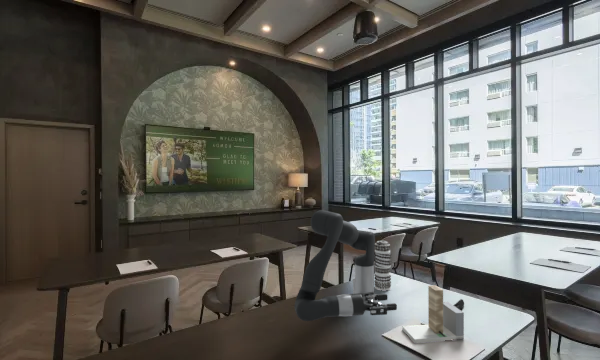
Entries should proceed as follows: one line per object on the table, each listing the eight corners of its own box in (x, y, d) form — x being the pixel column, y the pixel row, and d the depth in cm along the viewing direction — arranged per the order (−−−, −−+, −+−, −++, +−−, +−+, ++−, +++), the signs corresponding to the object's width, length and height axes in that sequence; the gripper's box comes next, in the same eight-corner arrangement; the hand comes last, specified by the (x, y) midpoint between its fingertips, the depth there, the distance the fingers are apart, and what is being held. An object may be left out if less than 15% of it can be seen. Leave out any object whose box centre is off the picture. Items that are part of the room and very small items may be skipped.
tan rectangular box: (440, 338, 115) (440, 293, 114) (428, 326, 123) (428, 285, 123) (448, 337, 115) (448, 293, 115) (435, 326, 124) (435, 285, 123)
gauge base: (414, 343, 115) (414, 315, 114) (402, 330, 124) (402, 304, 124) (463, 339, 117) (463, 312, 117) (447, 326, 127) (447, 301, 127)
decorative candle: (374, 290, 167) (374, 243, 166) (373, 284, 176) (373, 239, 175) (392, 291, 165) (392, 243, 165) (390, 285, 174) (390, 239, 174)
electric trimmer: (466, 306, 147) (466, 299, 147) (456, 317, 135) (456, 310, 135) (457, 304, 149) (457, 297, 149) (446, 315, 138) (446, 307, 138)
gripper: (354, 302, 110) (399, 299, 112) (344, 287, 124) (384, 284, 126) (355, 324, 110) (399, 320, 112) (344, 306, 124) (384, 303, 126)
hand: (391, 301), depth 119 cm, fingers open, 8 cm apart
